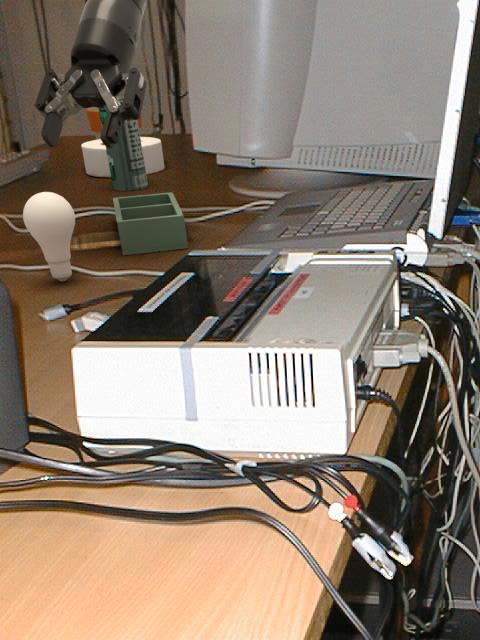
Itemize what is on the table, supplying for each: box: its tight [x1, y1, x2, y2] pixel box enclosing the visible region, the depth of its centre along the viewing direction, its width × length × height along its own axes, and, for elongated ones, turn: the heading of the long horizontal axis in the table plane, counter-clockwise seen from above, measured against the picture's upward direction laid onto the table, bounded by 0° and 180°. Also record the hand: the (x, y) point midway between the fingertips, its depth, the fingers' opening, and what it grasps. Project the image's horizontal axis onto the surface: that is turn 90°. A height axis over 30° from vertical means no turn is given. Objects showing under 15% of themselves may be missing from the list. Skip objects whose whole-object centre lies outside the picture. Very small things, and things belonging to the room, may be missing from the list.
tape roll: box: [80, 136, 166, 178], centre depth 184 cm, size 16×16×6 cm
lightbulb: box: [22, 191, 76, 282], centre depth 114 cm, size 6×6×11 cm
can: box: [99, 98, 149, 192], centre depth 165 cm, size 6×6×15 cm
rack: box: [112, 192, 189, 256], centre depth 133 cm, size 17×9×5 cm, turn 16°
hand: (77, 143), depth 116 cm, fingers open, 8 cm apart
